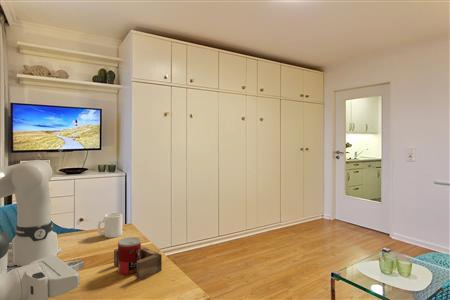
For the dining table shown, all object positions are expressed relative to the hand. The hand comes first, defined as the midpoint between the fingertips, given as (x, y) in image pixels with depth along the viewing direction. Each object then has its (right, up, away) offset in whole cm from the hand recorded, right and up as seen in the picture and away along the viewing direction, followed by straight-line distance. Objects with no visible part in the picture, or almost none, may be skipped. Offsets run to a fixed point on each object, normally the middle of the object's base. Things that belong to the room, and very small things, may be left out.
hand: (82, 263), depth 86 cm
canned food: (+10, -9, +14) cm, 19 cm away
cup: (-12, -7, +50) cm, 51 cm away
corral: (+12, -8, +16) cm, 22 cm away
